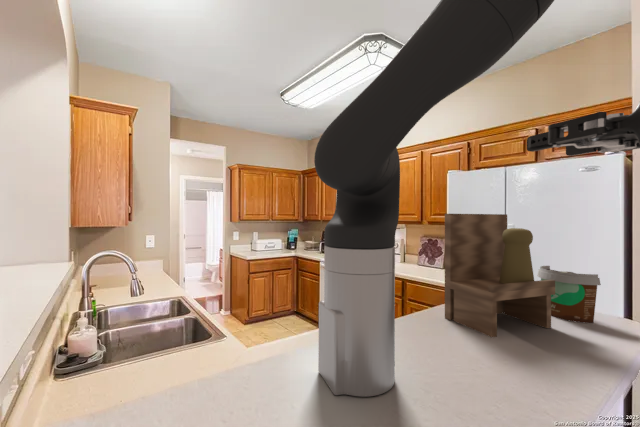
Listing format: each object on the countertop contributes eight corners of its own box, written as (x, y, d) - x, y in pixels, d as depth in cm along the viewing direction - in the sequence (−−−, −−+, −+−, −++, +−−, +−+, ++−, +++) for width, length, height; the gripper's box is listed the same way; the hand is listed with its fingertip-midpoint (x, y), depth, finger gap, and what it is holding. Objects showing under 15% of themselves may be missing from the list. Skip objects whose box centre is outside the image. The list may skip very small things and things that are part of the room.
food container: (524, 307, 71) (523, 265, 71) (547, 307, 72) (547, 265, 72) (573, 326, 59) (572, 275, 59) (601, 325, 60) (600, 274, 60)
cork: (538, 287, 56) (539, 228, 56) (501, 284, 59) (501, 227, 59) (531, 282, 62) (531, 228, 62) (497, 279, 64) (498, 227, 64)
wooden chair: (492, 338, 53) (492, 212, 53) (444, 317, 63) (444, 213, 64) (555, 328, 58) (554, 214, 58) (501, 310, 69) (500, 214, 69)
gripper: (746, 86, 33) (578, 127, 48) (675, 63, 28) (514, 117, 44) (747, 154, 33) (578, 174, 48) (676, 142, 28) (514, 168, 44)
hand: (548, 147), depth 46 cm, fingers open, 8 cm apart
